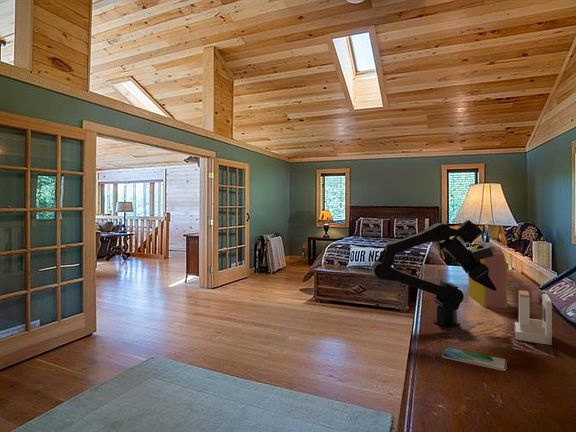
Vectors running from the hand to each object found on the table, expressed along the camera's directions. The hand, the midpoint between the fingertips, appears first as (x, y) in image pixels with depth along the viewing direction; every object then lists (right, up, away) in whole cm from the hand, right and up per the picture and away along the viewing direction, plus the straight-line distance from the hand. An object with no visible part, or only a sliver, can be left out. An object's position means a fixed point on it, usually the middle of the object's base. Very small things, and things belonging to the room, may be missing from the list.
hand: (492, 287), depth 118 cm
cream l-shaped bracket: (+8, -14, -8) cm, 18 cm away
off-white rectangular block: (+6, -11, -7) cm, 14 cm away
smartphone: (-20, -15, -24) cm, 35 cm away
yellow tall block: (+18, -14, +35) cm, 42 cm away
